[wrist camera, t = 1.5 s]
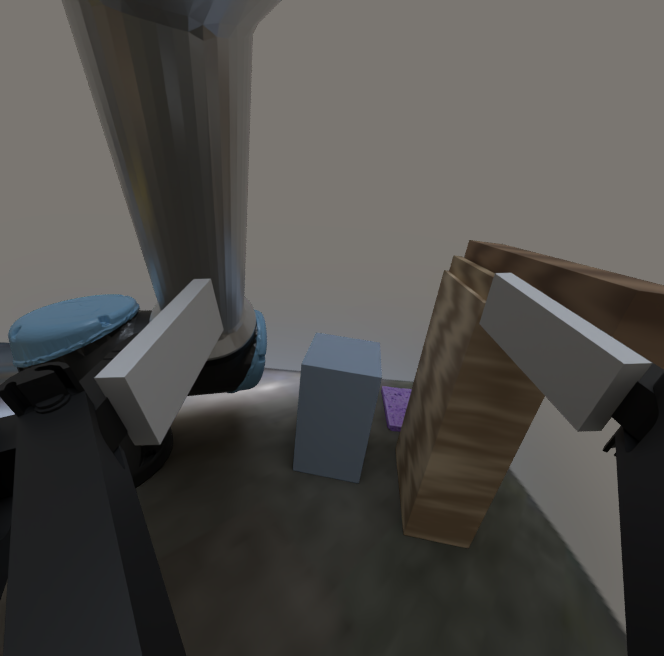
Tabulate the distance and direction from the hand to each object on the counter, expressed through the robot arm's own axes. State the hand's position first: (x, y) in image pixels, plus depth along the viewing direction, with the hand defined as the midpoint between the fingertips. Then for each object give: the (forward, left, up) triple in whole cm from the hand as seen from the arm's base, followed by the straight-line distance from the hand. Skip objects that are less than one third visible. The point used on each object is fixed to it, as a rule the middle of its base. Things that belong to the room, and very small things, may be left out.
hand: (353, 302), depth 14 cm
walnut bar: (-1, +19, -2) cm, 20 cm away
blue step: (-17, +14, -33) cm, 40 cm away
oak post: (-4, +23, -33) cm, 40 cm away
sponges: (-20, +33, -34) cm, 51 cm away
